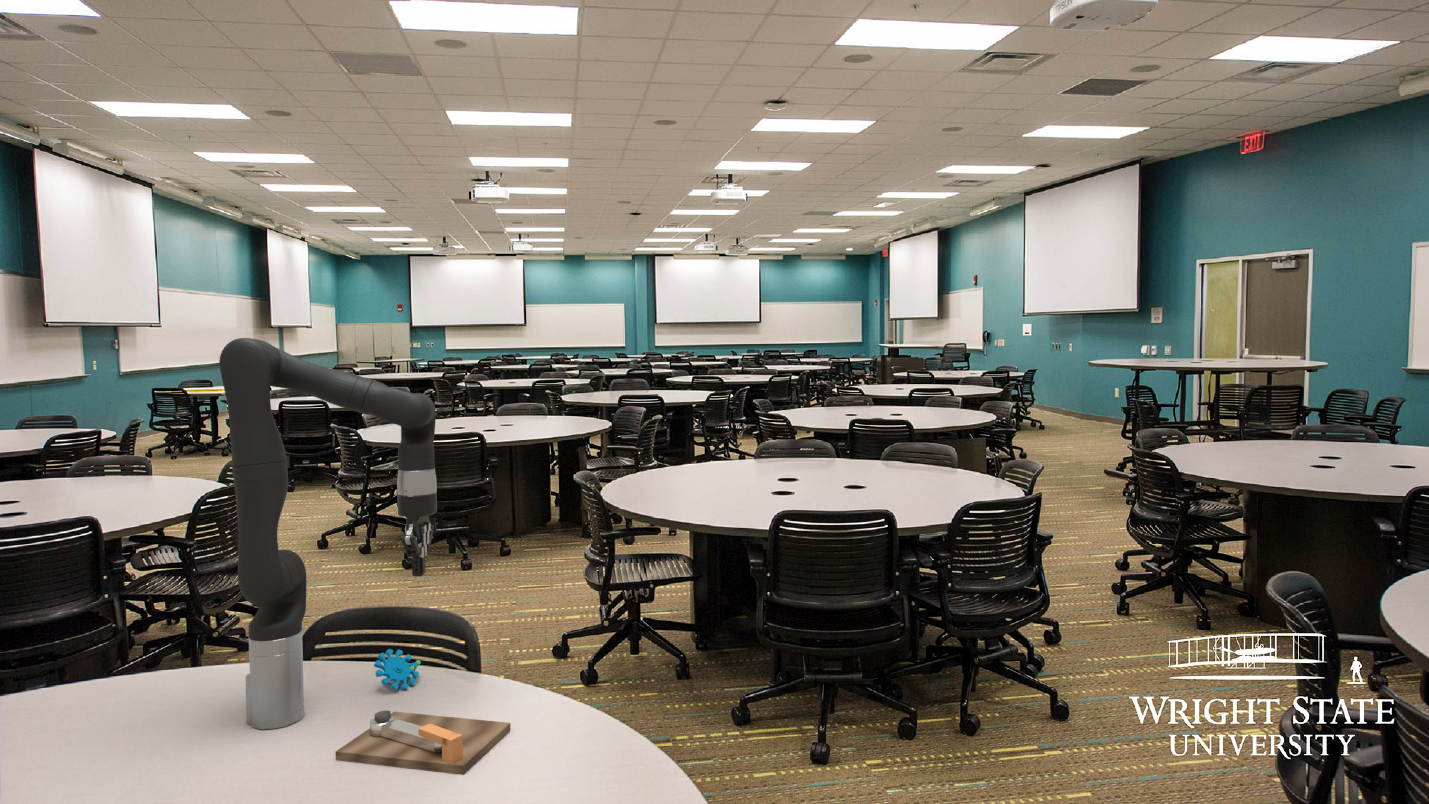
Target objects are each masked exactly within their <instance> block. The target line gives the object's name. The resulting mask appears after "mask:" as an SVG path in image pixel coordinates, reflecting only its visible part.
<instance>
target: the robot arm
mask: <svg viewBox="0 0 1429 804" xmlns="http://www.w3.org/2000/svg"><path fill="white" fill-rule="evenodd" d="M218 361H219V364H218V365H219V371H220V376H221V380H222V384H223V390H224V395H225V398H226V404H227V411H228V417H229V419H228V420H229V436H230V439H229V440H230V448H231V468H232V477H233V487H234V493H235V504H236V517H237V529H238V550H237V552H238V553H237V582H238V587H239V588H238V589H239V590H240V593H241V594H242V596H243V598H244V599H245V600H246V601H247V602H248V603H250V604H251V605H254V606H259V607H258V609H257V612H256V613H255V615H254V616H253V618H252V619H251V620H250V622H249V624H248V655H249V657H248V659H249V660H248V661H249V673H247V674H246V675H245V706H246V707H245V709H246V713H245V714H246V715H245V716H246V724H247V725H251V727H253V728H255V729H258V730H271V729H278V728H283V727H287V726H290V725H292V724H296V723H297V722H299V721H300V720H301V719H302V718H304V716H305V698H304V697H305V696H304V695H305V694H304V693H305V692H304V691H305V690H304V688H305V687H304V656H303V655H304V654H303V650H304V649H303V620H304V618H305V615H306V612H307V608H306V607H307V586H308V585H307V581H308V580H307V579H308V577H307V570H306V565H305V563H304V561H303V558H301V556H300V555H299V554H297V553H296V552H294V551H293V550H290V549H279V542H278V541H279V540H278V529H279V528H278V527H279V521H280V518H281V514H282V512H283V508H284V505H285V502H286V499H287V494H288V489H289V470H288V462H287V454H286V453H287V452H286V450H285V449H286V448H285V445H284V442H283V439H282V437H281V433H280V431H279V428H278V427H277V424H276V420H275V418H274V415H273V410H272V405H271V387H273V388H274V387H275V388H281V389H287V390H291V391H296V392H300V393H303V394H307V395H309V396H312V397H314V398H317V399H319V400H321V401H323V402H326V403H329V404H332V405H334V406H337V407H340V408H343V409H345V410H349V411H352V412H353V411H354V412H357V413H360V414H363V415H368V416H371V417H376V418H378V419H381V420H383V421H386V422H389V423H391V424H394V425H397V426H398V427H399V426H400V443H399V444H398V449H397V467H398V468H397V469H398V470H397V479H396V481H397V482H396V485H397V486H396V487H397V489H396V492H397V493H396V494H397V514H398V515H399V516H400V517H404V518H406V522H405V523H406V524H405V526H404V533H405V535H401V537H400V541H401V543H402V544H401V545H402V547H403V549H404V552H405V554H406V557H407V558H410V559H411V574H412V576H413V577H423V576H424V575H426V557H427V554H428V552H429V551H430V548H431V544H432V539H433V533H434V529H435V527H434V526H435V525H434V524H431V522H430V517H429V516H433V515H434V514H436V513H437V512H438V500H437V499H438V498H437V496H438V495H437V494H438V493H437V492H438V491H437V489H438V488H437V474H436V463H435V462H436V460H435V459H436V458H435V443H434V442H435V441H434V440H435V432H436V419H437V417H436V415H437V414H436V413H437V411H436V406H435V403H434V401H433V400H432V398H430V397H429V396H428V395H427V394H424V393H419V392H416V393H414V392H409V391H405V390H401V389H397V388H394V387H391V386H388V385H387V384H384V383H383V382H380V381H377V380H374V379H371V378H368V377H366V376H365V377H364V376H361V375H357V374H354V373H351V372H347V371H342V370H339V369H335V368H331V367H327V366H323V365H320V364H316V363H313V362H310V361H307V360H304V359H301V358H299V357H297V356H294V355H292V354H290V353H288V352H286V351H284V350H283V349H280V348H277V347H275V345H273V344H272V343H271V344H270V343H269V342H267V341H265V340H261V339H257V338H251V337H240V338H236V339H232V340H231V341H229V342H228V343H227V344H225V346H224V347H223V349H222V350H221V353H220V355H219V360H218Z"/></svg>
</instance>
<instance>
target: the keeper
mask: <svg viewBox="0 0 1429 804" xmlns="http://www.w3.org/2000/svg"><path fill="white" fill-rule="evenodd" d="M418 733H419V736H422V737H425V738H427V739H430V740H433V741H435V742H438V743H441V744H442V760H444V761H446V762H449V763H451V764H452V763H453V762H455V761H457V760H459V759H461V758H463V743H462V735H461V734H458V733H455V732H452V731H449V730H447V729H444V728H441V727H438V726H435V725H433V724H428V725H425V726H423V727H421V728H419V729H418Z"/></svg>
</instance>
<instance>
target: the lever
mask: <svg viewBox="0 0 1429 804" xmlns="http://www.w3.org/2000/svg"><path fill="white" fill-rule="evenodd" d="M421 727H423V726H419V725H416V724H412V723H409V722H405V721H402V720H398V719H395V717H394V716H391V719H390V720H388V721H385V722H375V718H372V719H371V720H370V722H369V728H370V734H371V735H372V736H382V737H386V738H389V739H392V740H396V741H399V742H402V743H406V744H409V745H412V746H416V747H419V748H423V749H426V750H429V751H433V752H438V753H439V752H442V744H441V743H438V742H435V741H433V740H430V739H427V738H425V737H422V736H419V733H418V729H419V728H421Z"/></svg>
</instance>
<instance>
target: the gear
mask: <svg viewBox="0 0 1429 804" xmlns="http://www.w3.org/2000/svg"><path fill="white" fill-rule="evenodd" d="M393 653H394V650H393V648H392V649H391V648H389V649H387V650H386V651H385V653H384V652H381V653H379V654H378V655H377V660H375V662H374V665H373V667H375V668H378V669H377V670H376V671H375V672H374V673H375V677H376V678H379V677H384V678H383V679H381V681H380V682H381V684H382V685H383V686H387V685H388V684H389V683H390V682H393V683H392V684H391V686H390V689H391V690H392V691H396V690H397V689H398V688H399V683H402V685H401V686H400V691H401V690H402V691H407V690H408V689H409V687H412V686H414V685H416V683H417V680H416V679H417V678H418V677H419V675H420V671H416V669H417V668H418V667H419V666H420V664H421V661H420V660H419V659H418V660H416V661H415V662H410V661H411V660H412V659H413V658H412V655H410V654H409V653H408V654H406V656H405V657H401V656H402V655H403V653H404V651H403V650H401V649H397V650H396V651H395V656H394V657H393V656H392V655H393ZM386 656H387V659H386ZM400 657H401V658H400ZM407 680H408V683H407Z"/></svg>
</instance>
